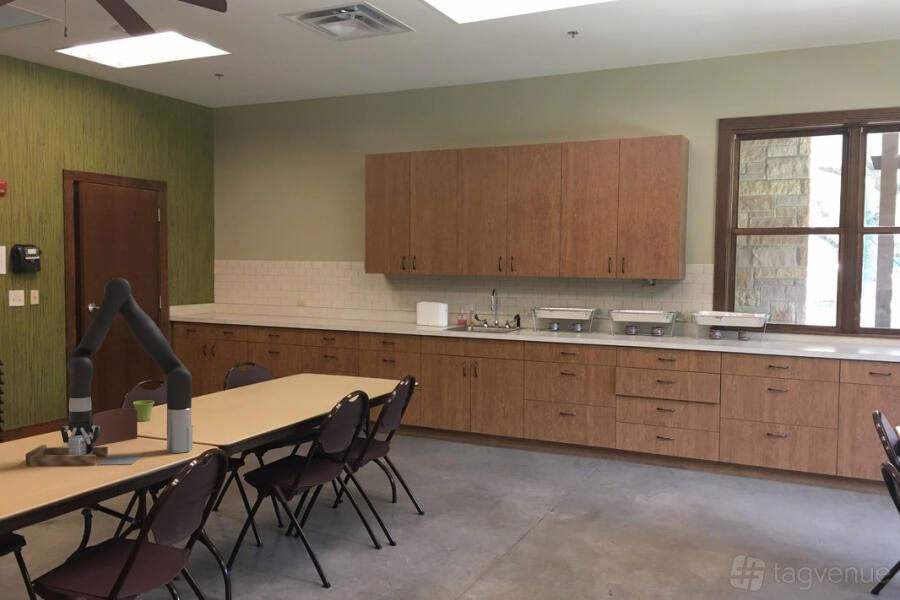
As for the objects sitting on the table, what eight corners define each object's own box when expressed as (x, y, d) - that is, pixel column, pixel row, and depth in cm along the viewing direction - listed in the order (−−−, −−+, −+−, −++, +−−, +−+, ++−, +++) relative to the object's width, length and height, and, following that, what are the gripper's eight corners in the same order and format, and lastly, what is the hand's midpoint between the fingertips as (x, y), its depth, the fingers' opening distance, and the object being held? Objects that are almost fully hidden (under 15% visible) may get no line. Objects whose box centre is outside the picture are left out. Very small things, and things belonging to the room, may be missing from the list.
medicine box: (78, 460, 274) (78, 437, 273) (68, 459, 275) (68, 436, 274) (93, 455, 281) (93, 432, 281) (82, 454, 282) (82, 432, 282)
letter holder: (137, 438, 315) (138, 406, 314) (92, 447, 299) (92, 412, 298) (125, 435, 321) (125, 403, 320) (79, 443, 305) (79, 409, 304)
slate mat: (142, 455, 287) (142, 454, 287) (131, 464, 273) (131, 463, 273) (110, 455, 286) (110, 454, 286) (97, 465, 272) (97, 464, 272)
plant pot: (150, 417, 359) (150, 399, 359) (157, 420, 352) (157, 402, 351) (130, 419, 353) (130, 401, 353) (136, 423, 346) (136, 404, 345)
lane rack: (107, 455, 286) (107, 444, 285) (94, 465, 272) (94, 453, 271) (42, 456, 283) (42, 444, 283) (25, 465, 269) (25, 453, 269)
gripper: (103, 406, 282) (104, 450, 282) (64, 407, 280) (64, 451, 281) (96, 410, 274) (97, 455, 275) (56, 411, 273) (56, 456, 273)
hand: (80, 453), depth 278 cm, fingers closed on medicine box, 5 cm apart
